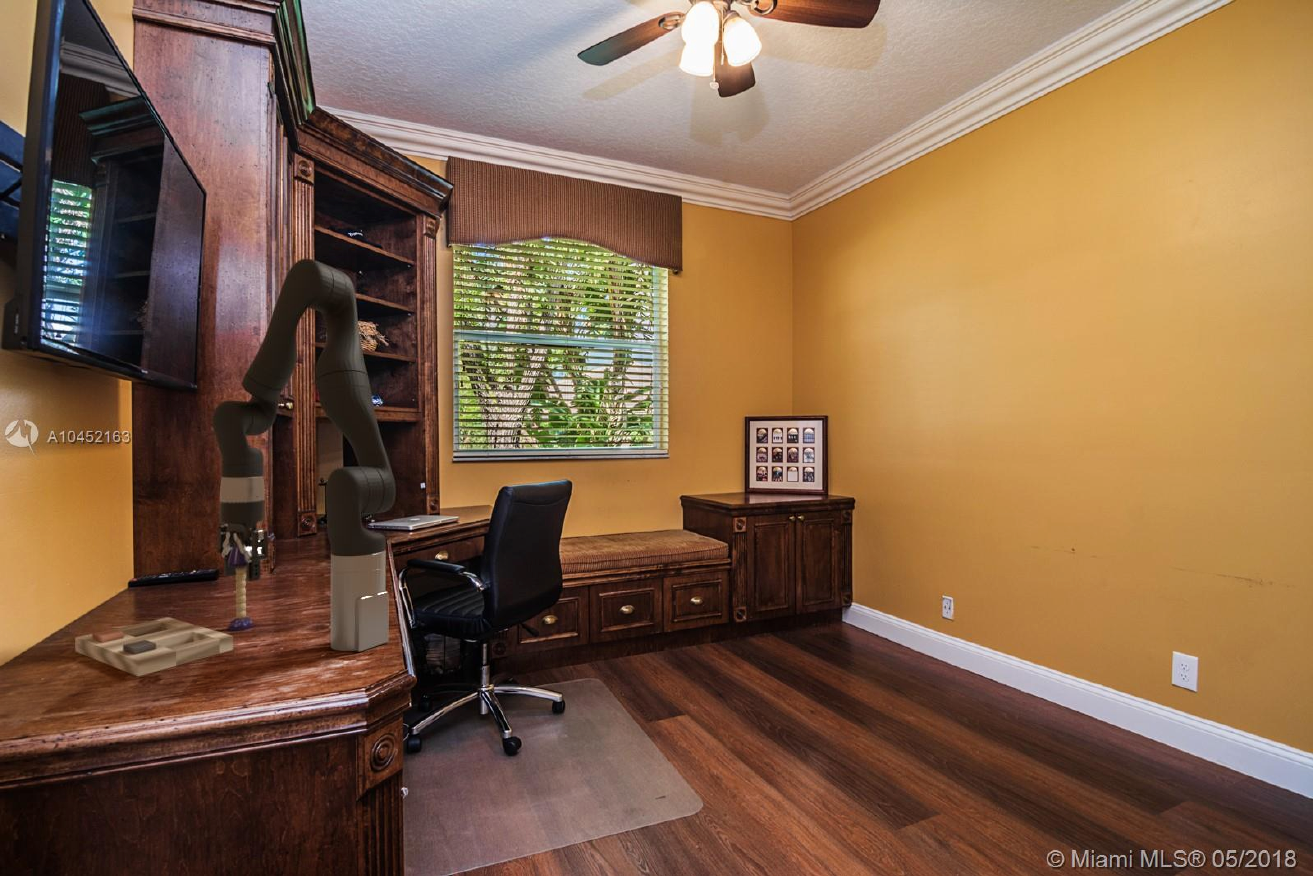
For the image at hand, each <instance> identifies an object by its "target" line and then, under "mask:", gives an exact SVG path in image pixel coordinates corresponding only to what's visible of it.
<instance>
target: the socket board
mask: <svg viewBox="0 0 1313 876" xmlns="http://www.w3.org/2000/svg"><path fill="white" fill-rule="evenodd" d="M74 641H75V643H74V649H75V651H74V652H76V653H78V654H80V655H83V656H86V657H89V658H91V659H93V660H96V661H97V662H101V663H103V664H106V665H107V666H111V667H114V668H116V669H118V670H121V671H123V672H126V673H128V674H131V675H133V676H136V677H141V676H145V675H148V674H152V673H155V672H158V671H162V670H166V669H170V668H173V667H177V666H179V665H180V666H181V665H184V664H187V663H191V662H194V661H198V660H202V659H205V658H208V657H212V656H215V655H220V654H223V653H226V652H230V651H233V650H234V635H231V634H228V633H224V632H221V631H218V630H213V629H211V628H206V627H203V626H200V625H196V624H193V623H190V622H185V621H183V620H179V619H175V618H172V617H168V616H167V617H163V618H159V619H154V620H150V621H144V622H140V623H135V624H131V625H127V626H122V627H118V628H113V629H112V628H111V629H109V630H104V631H100V632H94V633H91V634H90V633H89V634H86V635H82V636H78V637H75V638H74Z"/></svg>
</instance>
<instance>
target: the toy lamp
mask: <svg viewBox="0 0 1313 876" xmlns="http://www.w3.org/2000/svg"><path fill="white" fill-rule="evenodd" d="M251 556H252V553H251ZM247 563H248V562H247V560H246V557H245V555H244V554H242V553H241V551H240V549H239V546H233V547H232V550H231V553H230V556H229V560H228V563H227V566H228V567H236V573H237V574H236V575H235V580H236V582H235V588H236V589H235V596H236V597H235V603H236V604H235V610H236V614H235V617H236V618H235V619H233V620H231V621H230V623H229V625H228V627H227V629H228V631H241V630H247V629H249V628H252V627H253V626H254V622H253V620H252V619H251V618H250V617H246V616H247V611H246V609H247V604H246V601H247V595H246V592H247V589H246V586H247V585H246V584H247V582H246V580H247V573H246V572H247Z"/></svg>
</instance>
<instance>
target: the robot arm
mask: <svg viewBox="0 0 1313 876" xmlns="http://www.w3.org/2000/svg"><path fill="white" fill-rule="evenodd" d="M355 290H356V289H355V287H354V284H353V282H352V280H351V278H350V277H349V276H348V275H347V274H346V273H345V272H343V271H341V270H339V269H338V268H334V267H332V266H329V265H327V264H325V263H322V262H320V261H318V260H315V259H311V258H303V259H299V260H297V261H296V262H295V263H294V264H293V265H292V266H291V267H290V269H289V271H288V272H287V274H286V277H285V278H284V280H283V283H282V285H281V289H280V291H279V294H278V297H277V300H276V303H275V306H274V309H273V311H272V315H271V318H270V321H269V325H268V327H267V330H266V333H265V335H264V338H263V341H262V343H261V345H260V347H259V349H258V350H257V353H256V355H255V356H254V358H253V360H252V362H251V364H250V365H249V367H248V369H247V370H246V372H245V374H244V376H243V377H242V381H241V387H242V389H243V390H244V391H245V392H247V394H249V395H251V397H250V399H249V400H248V401H246V400H245V401H243V400H242V401H241V400H225V401H224V400H223V401H222V402H220V403H219V404H218V405H217V406H216V408H215V409H214V411H213V414H212V418H211V423H212V428H213V433H214V435H215V440H216V442H217V446H218V449H219V452H220V456H221V481H220V485H219V486H220V489H219V522H220V523H222V524H219V525H218V526H217V529H218V530H217V547H216V548H217V549H216V551H217V554H218V555H219V554H221V557H222V558H223V562H224V563H223V575H224V576H226V577H229V576H236V574H237V573H236V567H228V566H227V563H228V560H229V556H230V553H231V550H232V547H233V546H239V549H240V551H241V553H242V554H244V555H245V557H246V560H247V562H248V563H247V566H246V580H247V582H254V581H258V580H260V579H261V562H262V561H263V560H267V559H268V557H269V551H268V549H269V547H268V546H269V544H268V542H269V541H268V539H269V538H268V529H267V528H262V529H259V528H258V524H259V522H263V521H264V519H265V504H266V503H265V502H266V501H265V499H266V497H265V496H266V494H265V492H266V490H265V481H264V480H265V478H264V453H263V450H261V449H259V448H257V447H252V446H250V444H249V442H248V439H247V436H262V435H263V434H265V433H267V432H268V431H269V429H270V428H271V427H272V426H273V425H274V423H275V420H276V417H277V412H278V408H279V404H280V399H281V394H282V393H283V390H284V389H285V387H286V386H287V384H288V383H289V380H290V379H291V376H292V375H293V373H294V370H295V369H296V366H297V360H298V345H297V334H298V333H297V331H298V327H299V324H300V323H299V322H300V321H301V319H302V317H303V315H304V314H305V313H306V311H307V310H308V309H311V310H313V311H317V312H320V313H321V315H322V318H323V321H324V325H325V331H326V342H325V345H324V347H323V350H322V351H321V353H320V355H319V357H318V360H317V362H316V365H315V369H314V381H315V385H316V392H317V396H318V401H319V406H320V408H321V409H322V410H323V412H324V414H325V416H326V417H327V418H328V419H329V420H330V421H331V423H332V424H333V425H334V426H335V427H336V428H337V429H338V431H340V432H341V433H342V435H343V436H344V437H345V439H347V441H348V442H349V444H350V445H351V447H352V449H353V451H354V455H355V457H356V460H357V464H358V466H344V467H343V466H341V467H337V468H336V469H334V470H332V471H331V473H330V474H329V476H328V478H327V481H326V486H325V505H326V506H325V507H326V523H327V524H326V527H327V529H326V530H327V536H328V540H329V541H328V542H329V544H330V648H331V649H332V650H335V651H339V652H362V651H365V650H369V649H372V648H374V647H377V646H380V645H383V644H385V643H389V627H390V626H389V625H390V624H389V608H390V607H389V604H390V601H389V592H388V591H386V561H387V559H386V558H387V557H386V555H387V554H386V548H387V547H386V543H387V541H386V537H385V535H384V534H382V533H379V532H375V531H371V530H368V529H367V528H365V527H364V525H363V523H362V516H365V515H367V516H368V515H376V514H382V513H386V512H387V511H389V510H390V509H392V507H393V506H394V504H395V500H396V491H397V490H396V482H395V477H394V474H393V470H392V467H391V464H390V461H389V458H388V455H387V452H386V449H385V445H384V443H383V440H382V437H381V436H382V435H381V432H380V428H379V425H378V420H377V416H376V415H377V414H376V411H375V410H376V409H375V407H374V401H373V394H372V390H371V385H370V379H369V375H368V372H367V368H366V364H365V358H364V354H363V353H364V352H363V347H362V341H361V337H360V329H359V322H358V321H359V319H358V306H357V296H356V291H355ZM251 553H252V556H251Z"/></svg>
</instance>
